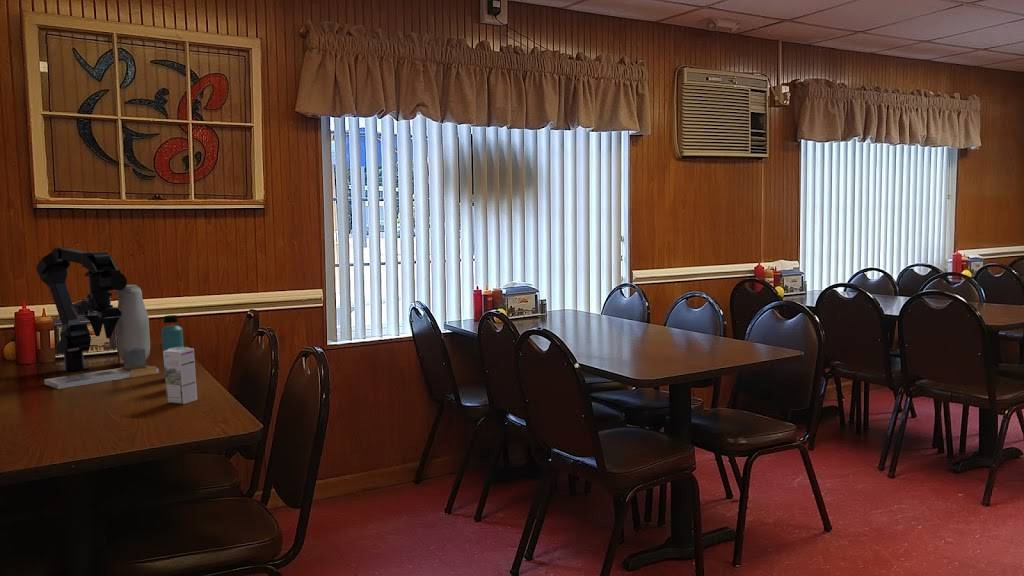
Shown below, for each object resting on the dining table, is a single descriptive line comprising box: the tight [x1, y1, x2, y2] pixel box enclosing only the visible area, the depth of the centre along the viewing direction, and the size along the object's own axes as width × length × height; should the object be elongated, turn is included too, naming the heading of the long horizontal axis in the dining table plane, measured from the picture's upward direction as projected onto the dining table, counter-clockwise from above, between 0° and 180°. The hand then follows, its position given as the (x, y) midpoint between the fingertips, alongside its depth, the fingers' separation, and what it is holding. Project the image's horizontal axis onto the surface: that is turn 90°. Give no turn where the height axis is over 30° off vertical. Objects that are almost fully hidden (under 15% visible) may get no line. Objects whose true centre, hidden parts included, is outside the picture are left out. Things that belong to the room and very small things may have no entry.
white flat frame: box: [44, 364, 160, 390], centre depth 246 cm, size 13×30×2 cm, turn 138°
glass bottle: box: [115, 284, 151, 362], centre depth 272 cm, size 10×10×28 cm
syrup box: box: [162, 347, 198, 405], centre depth 209 cm, size 6×6×14 cm
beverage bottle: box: [160, 314, 185, 375], centre depth 243 cm, size 6×7×20 cm
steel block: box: [122, 348, 147, 371], centre depth 254 cm, size 5×5×8 cm
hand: (103, 337), depth 255 cm, fingers open, 9 cm apart
